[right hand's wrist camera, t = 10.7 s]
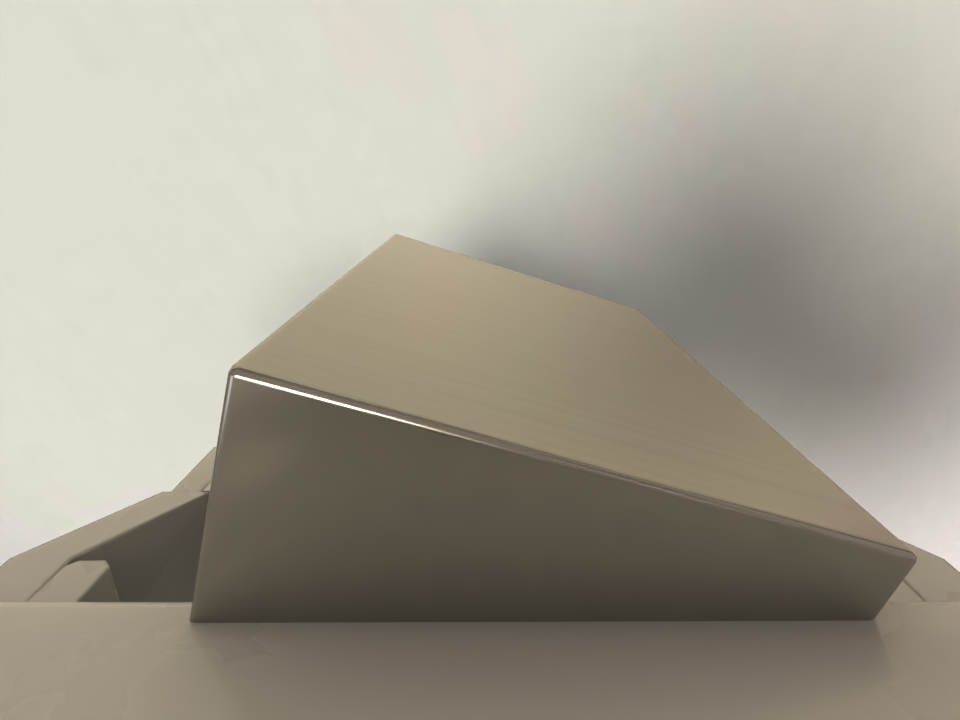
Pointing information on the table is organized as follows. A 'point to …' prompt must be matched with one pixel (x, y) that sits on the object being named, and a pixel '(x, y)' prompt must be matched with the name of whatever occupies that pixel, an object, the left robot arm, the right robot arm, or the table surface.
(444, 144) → the table surface
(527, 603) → the box
